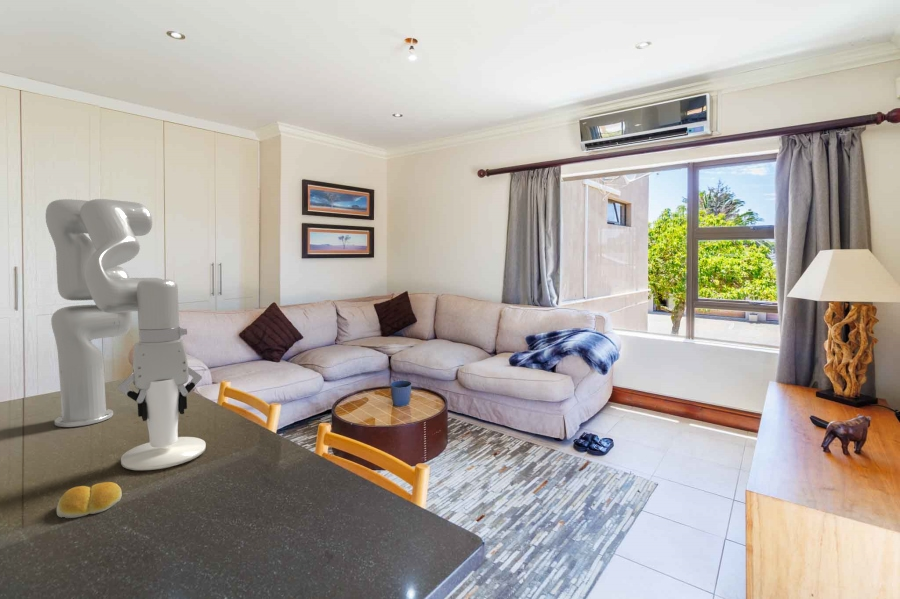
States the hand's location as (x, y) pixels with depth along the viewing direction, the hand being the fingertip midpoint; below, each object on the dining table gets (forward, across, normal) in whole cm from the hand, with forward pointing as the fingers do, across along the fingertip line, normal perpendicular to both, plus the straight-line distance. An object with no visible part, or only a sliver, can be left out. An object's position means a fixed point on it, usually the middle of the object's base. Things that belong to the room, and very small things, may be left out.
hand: (163, 415), depth 101 cm
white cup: (+7, 0, 0) cm, 7 cm away
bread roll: (+10, +13, +16) cm, 23 cm away
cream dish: (+10, 0, 0) cm, 10 cm away
